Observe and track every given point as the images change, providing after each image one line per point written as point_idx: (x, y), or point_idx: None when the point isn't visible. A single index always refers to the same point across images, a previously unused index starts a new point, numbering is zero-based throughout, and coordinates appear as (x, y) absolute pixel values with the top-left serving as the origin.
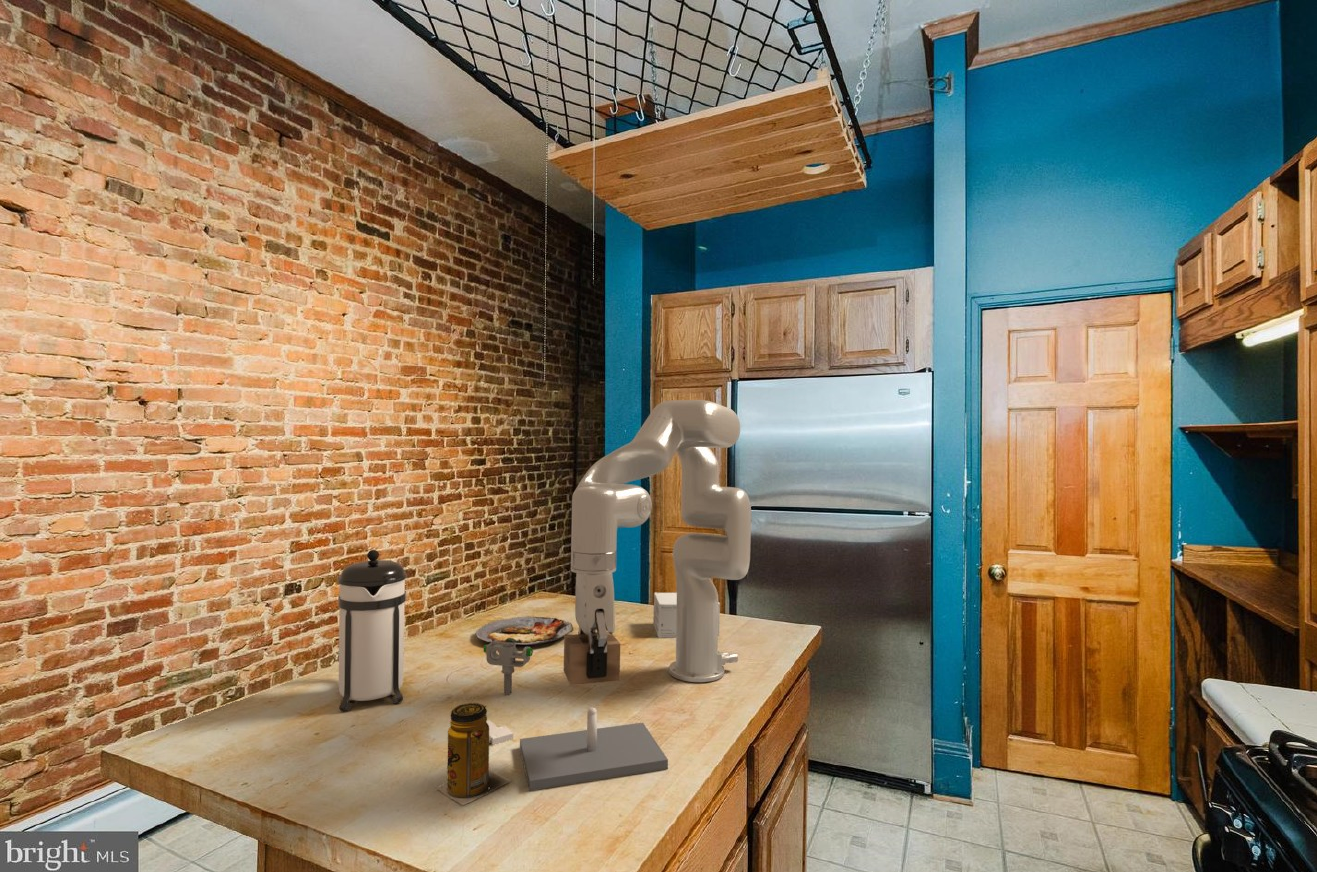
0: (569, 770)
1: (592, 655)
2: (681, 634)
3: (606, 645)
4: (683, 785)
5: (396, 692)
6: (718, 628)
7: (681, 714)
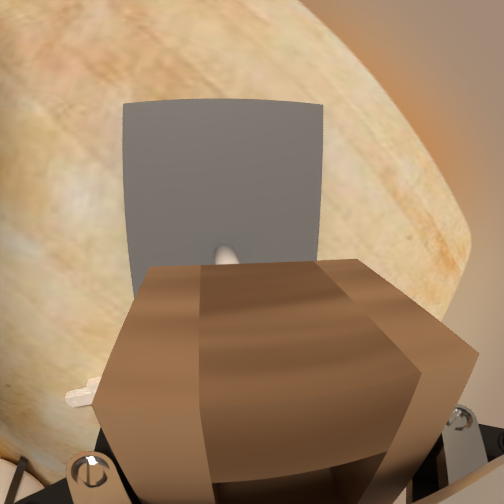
0: None
1: None
2: None
3: (477, 429)
4: (375, 107)
5: (22, 469)
6: None
7: (85, 12)
